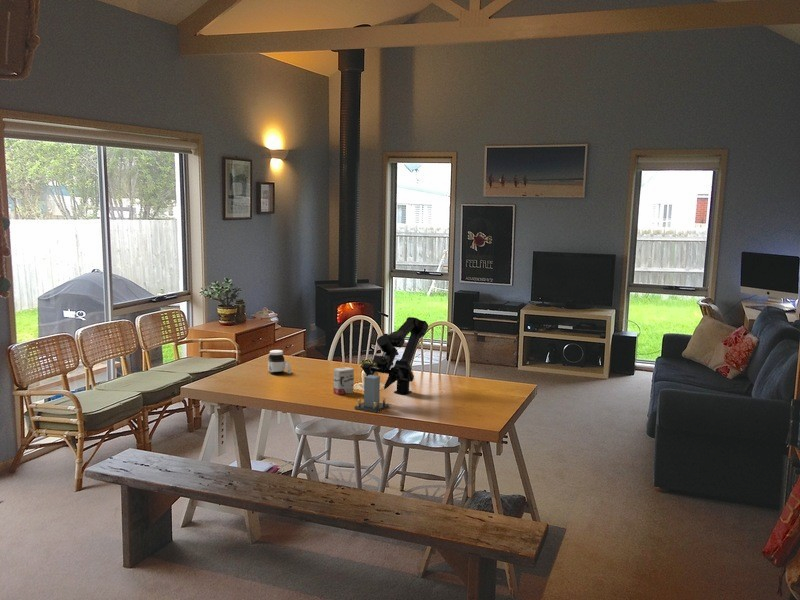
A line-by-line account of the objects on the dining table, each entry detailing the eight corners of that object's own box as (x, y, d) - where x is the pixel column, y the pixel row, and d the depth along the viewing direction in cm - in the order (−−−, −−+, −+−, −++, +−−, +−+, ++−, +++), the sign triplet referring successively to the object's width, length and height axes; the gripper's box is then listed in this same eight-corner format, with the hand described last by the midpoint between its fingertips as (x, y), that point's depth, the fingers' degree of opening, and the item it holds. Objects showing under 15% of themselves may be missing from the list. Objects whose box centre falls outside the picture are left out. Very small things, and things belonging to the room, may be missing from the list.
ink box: (338, 395, 327) (338, 370, 325) (333, 392, 331) (333, 368, 329) (354, 392, 332) (354, 368, 330) (348, 390, 336) (349, 366, 334)
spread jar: (266, 371, 369) (266, 349, 368) (286, 369, 375) (286, 348, 373) (273, 376, 359) (273, 354, 357) (294, 374, 364) (294, 352, 362)
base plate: (367, 403, 315) (367, 394, 315) (388, 406, 310) (388, 397, 309) (354, 409, 305) (354, 399, 305) (376, 413, 300) (376, 403, 300)
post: (369, 403, 311) (370, 374, 309) (379, 404, 309) (379, 376, 307) (363, 405, 307) (364, 377, 305) (373, 407, 304) (374, 378, 302)
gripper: (364, 345, 316) (350, 374, 308) (400, 350, 307) (388, 380, 299) (372, 359, 324) (359, 387, 316) (408, 364, 315) (396, 393, 307)
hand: (375, 387), depth 309 cm, fingers open, 9 cm apart
